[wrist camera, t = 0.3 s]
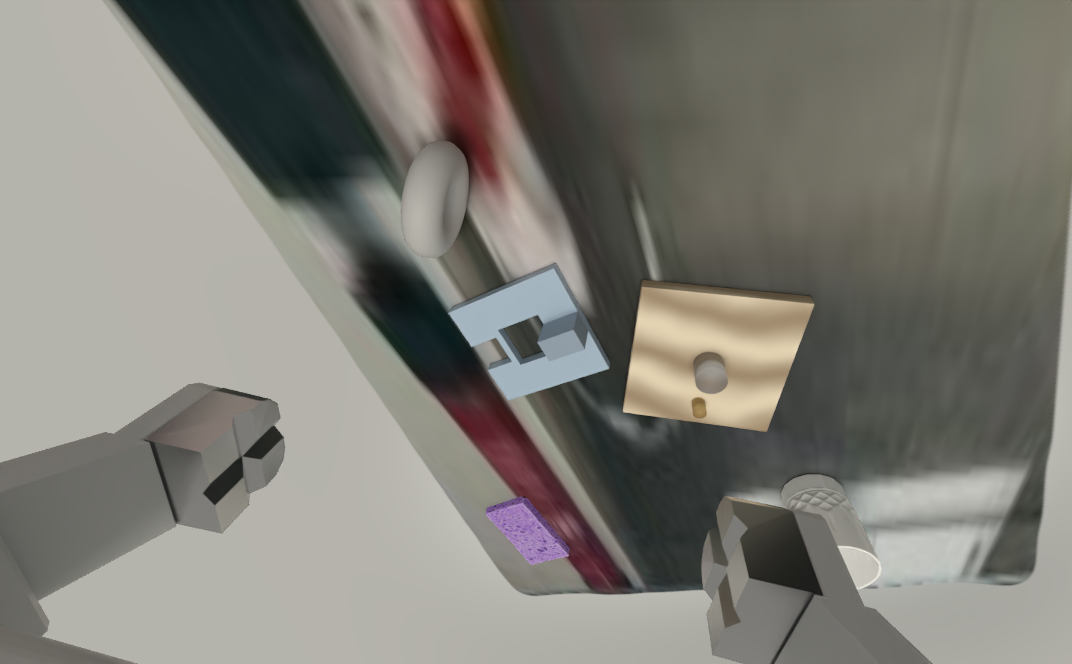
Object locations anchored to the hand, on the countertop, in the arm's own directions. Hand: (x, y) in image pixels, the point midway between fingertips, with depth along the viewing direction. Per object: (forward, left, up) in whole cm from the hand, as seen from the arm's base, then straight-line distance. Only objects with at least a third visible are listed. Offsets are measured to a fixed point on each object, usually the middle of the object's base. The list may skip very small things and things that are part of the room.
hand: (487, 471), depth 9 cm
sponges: (+57, -6, -40) cm, 70 cm away
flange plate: (+23, -6, -39) cm, 46 cm away
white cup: (+41, +28, -39) cm, 63 cm away
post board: (+23, +12, -39) cm, 47 cm away
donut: (+7, -14, -39) cm, 42 cm away
